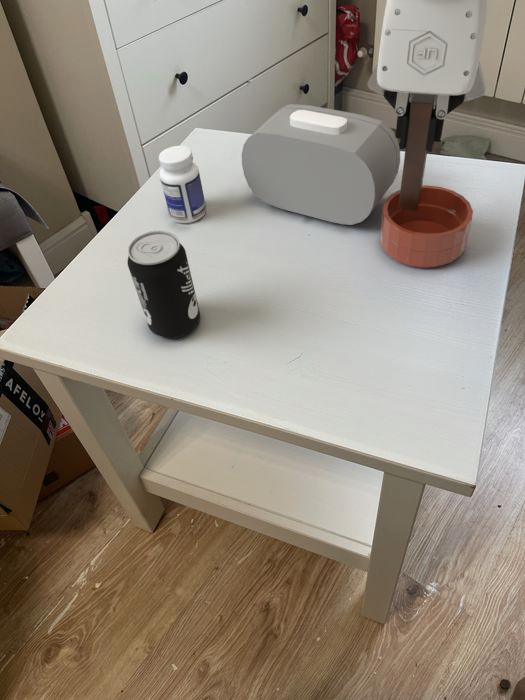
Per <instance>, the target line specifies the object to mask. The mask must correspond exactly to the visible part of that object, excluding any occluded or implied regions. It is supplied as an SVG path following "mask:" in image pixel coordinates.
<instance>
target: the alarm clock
mask: <svg viewBox="0 0 525 700" xmlns="http://www.w3.org/2000/svg"><path fill="white" fill-rule="evenodd" d="M395 135H396V133H395V132H394V130H393V129H392V128H391V127H390V126H389V125H388V124H386V123H385V121H383V120H380V119H377V118H373V117H372V116H371V117H370V116H367V115H364V114H360V113H354V112H348V111H343V110H338V109H332V108H328V107H327V108H326V107H321V106H316V105H310V104H296V103H295V104H293V103H289V104H287V105H285V106H283V107H281V108H280V109H278V110H276V112H275V113H274V114H272V116H270V118H268V119H267V120H265V122H264V123H263V124H262V125H261V126H260V127H258V128H257V129H256V130H255V131H254V132H253V133H252V134H251V135H250V136H249V137H247V139H246V140H245V142H244V144H243V147H242V150H241V166H242V171H243V176H244V179H245V181H246V183H247V185H248V187H249V189H250V190H251V191H252V193H253V194H254V195H255V196H256V197H257V198H258V199H260V200H261V202H263V203H265V204H268V205H270V206H272V207H273V206H274V207H275V208H278V209H281V210H285V211H289V212H292V213H296V214H299V215H303V216H307V217H310V218H315V219H319V220H322V221H326V222H329V223H335V224H338V225H343V226H346V225H349V226H352V225H356V224H359V223H362V222H363V221H365V219H367V218H368V217H369V216H370V215H371V213H372V212H373V210H374V209H375V208H376V206H377V205H378V204H379V202H380V201H381V200H382V199H383V197H384V196H385V195H386V193H387V192H388V190H389V189H390V188H391V186H392V185H393V183H394V182H395V181H396V178H397V176H398V174H399V169H400V164H401V149H399V147H400V142H399V140H398V139H399V138H395Z"/></svg>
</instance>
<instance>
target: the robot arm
mask: <svg viewBox="0 0 525 700" xmlns="http://www.w3.org/2000/svg"><path fill="white" fill-rule="evenodd" d="M487 8H488V0H386V2H385V8H384V14H383V21H382V26H381V33H380V42H379V50H378V58H377V59H378V60H377V64H376V66H375V67H374V69H373V72H372V73H371V75H370V77H369V79H368V81H367V83H366V86H367V88H368V89H369V90H371V91H373V92H374V93H376V94H378V95H380V96H382V97H383V98H384V100H385V101H386V102H387V103H388V104H389V105H390V106H391V108H392V109H394V114H395V115H396V116H397V117H396V127H395V138H397V139H399V149H400V150H405V148H406V142H407V134H408V126H409V114H410V106H411V101H410V100H411V94H414V93H419V94H434V95H436V96H437V97H436V103H435V104H434V110H433V113H432V117H431V119H430V124H429V131H428V137H427V144H426V150H427V153H428V152H429V153H432V152H433V150H434V149H433V148H434V145H435V143H440V142H441V140H442V134H443V129H444V123H445V118H447V116H448V115H449V114H450V113H451V112H453V111H454V110H455V109H457V108H458V107H459V106H461V105H462V104H463V103H465V102H469V101H472V100H476V99H478V98H480V97H483V96H484V95H485V93H486V90H487V89H486V88H487V85H486V81H485V77H484V73H483V69H482V66H481V63H480V62H481V61H480V60H481V54H482V46H483V41H484V34H485V26H486V20H487V11H488V9H487Z"/></svg>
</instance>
